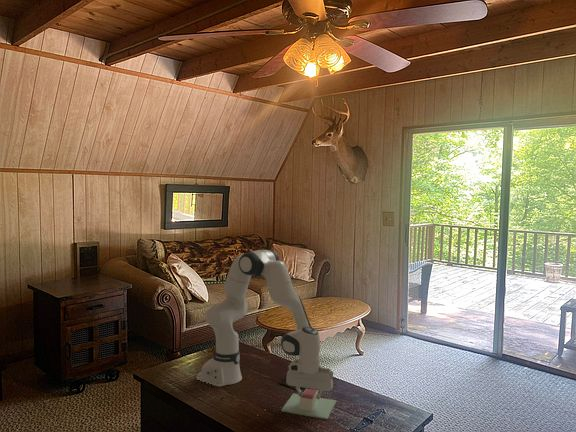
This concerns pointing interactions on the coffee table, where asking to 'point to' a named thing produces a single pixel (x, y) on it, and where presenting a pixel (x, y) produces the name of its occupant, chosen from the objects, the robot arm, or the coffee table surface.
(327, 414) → the mat
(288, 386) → the phone
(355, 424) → the coffee table surface
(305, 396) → the card case
